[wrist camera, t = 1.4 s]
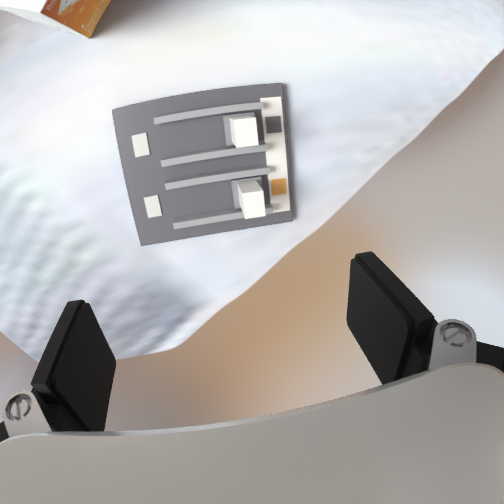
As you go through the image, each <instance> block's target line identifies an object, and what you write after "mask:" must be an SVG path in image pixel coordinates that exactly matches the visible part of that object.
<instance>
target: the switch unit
mask: <svg viewBox="0 0 504 504" xmlns="http://www.w3.org/2000/svg"><path fill="white" fill-rule="evenodd" d="M247 112H254V114H255V117H256V125H257V134H258V144H259V145H255V146H247V147H240V148H236V146H235V145H230V146H227V145H226V140H225V132H224V124H223V115H230V114H238V113H247ZM112 114H113V120H114V126H115V132H116V138H117V143H118V148H119V153H120V159H121V164H122V168H123V173H124V178H125V182H126V187H127V191H128V196H129V200H130V204H131V208H132V213H133V217H134V221H135V225H136V228H137V232H138V236H139V240H140V244H141V246H145V245H151V244H157V243H162V242H168V241H174V240H180V239H186V238H191V237H197V236H203V235H209V234H215V233H222V232H228V231H234V230H240V229H246V228H253V227H259V226H265V225H272V224H278V223H285V222H291V221H293V216H292V199H291V184H290V170H289V157H288V144H287V132H286V120H285V109H284V99H283V89H282V83H275V84H262V85H250V86H240V87H231V88H223V89H215V90H208V91H201V92H194V93H188V94H182V95H177V96H171V97H166V98H161V99H156V100H151V101H146V102H142V103H138V104H133V105H129V106H125V107H121V108H117V109H113V110H112ZM257 175H260V176H261V181H262V190H263V194H264V204H265V215H266V216H262V217H256V218H249V219H245V217H244V214H243V212H242V209H241V208H238V209H235V208H234V202H233V194H232V186H231V179H236V178H243V177H250V176H257Z"/></svg>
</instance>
